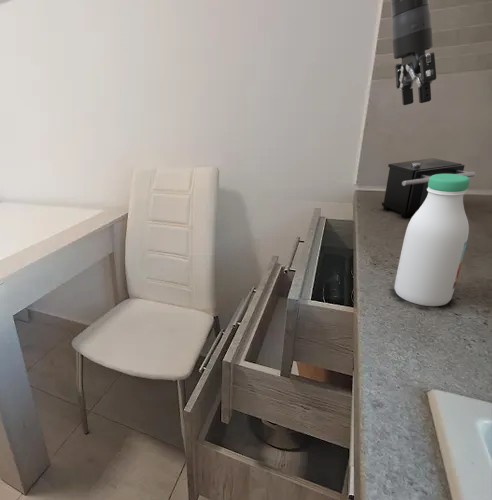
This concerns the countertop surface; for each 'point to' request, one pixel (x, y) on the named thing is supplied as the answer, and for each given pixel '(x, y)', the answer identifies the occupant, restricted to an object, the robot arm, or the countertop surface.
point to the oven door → (421, 183)
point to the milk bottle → (434, 243)
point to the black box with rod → (404, 171)
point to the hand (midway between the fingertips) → (416, 103)
